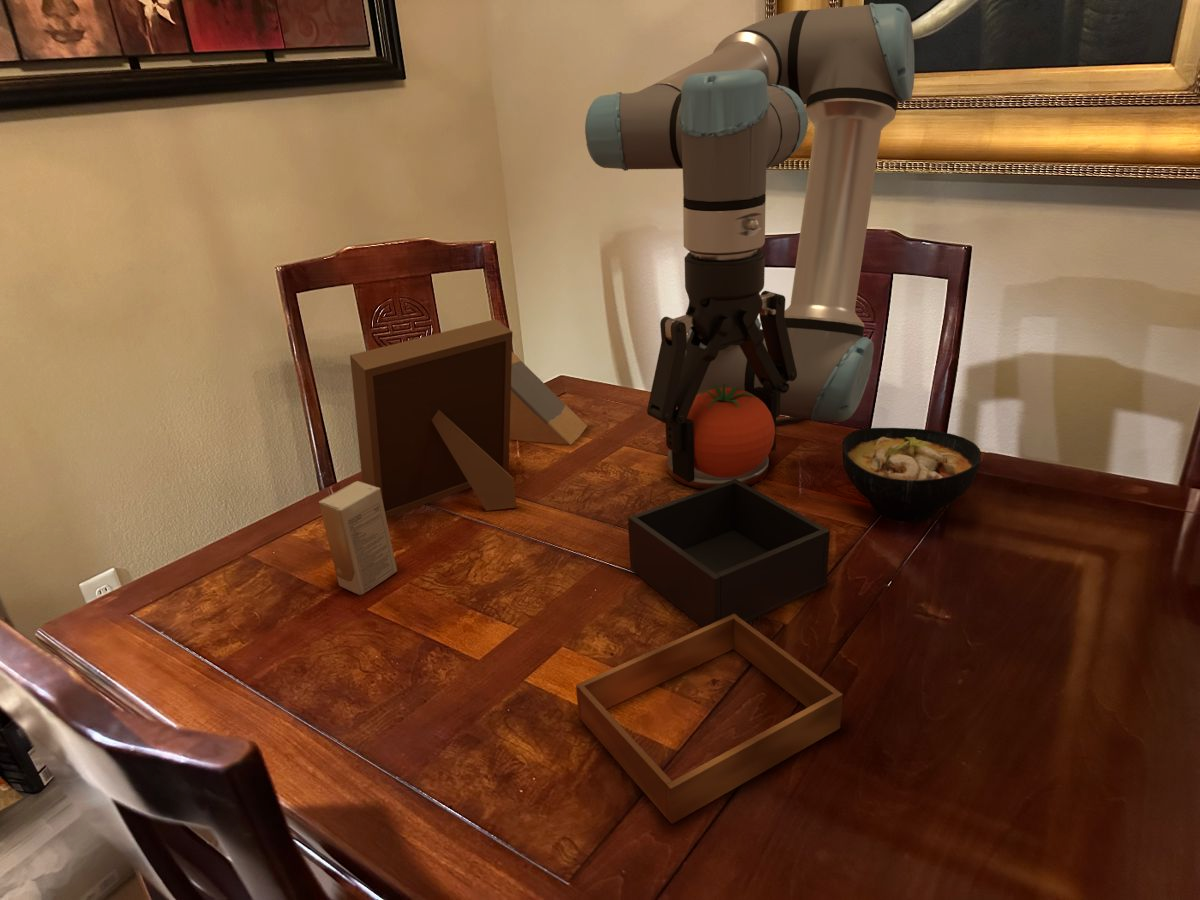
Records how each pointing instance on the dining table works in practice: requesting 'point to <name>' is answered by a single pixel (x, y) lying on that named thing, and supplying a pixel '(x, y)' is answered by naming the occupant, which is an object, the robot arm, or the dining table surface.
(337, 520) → the cosmetic box
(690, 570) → the black square bin
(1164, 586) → the dining table surface
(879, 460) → the bowl
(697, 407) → the tomato
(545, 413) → the sandwich container
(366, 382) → the photo frame
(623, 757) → the box
